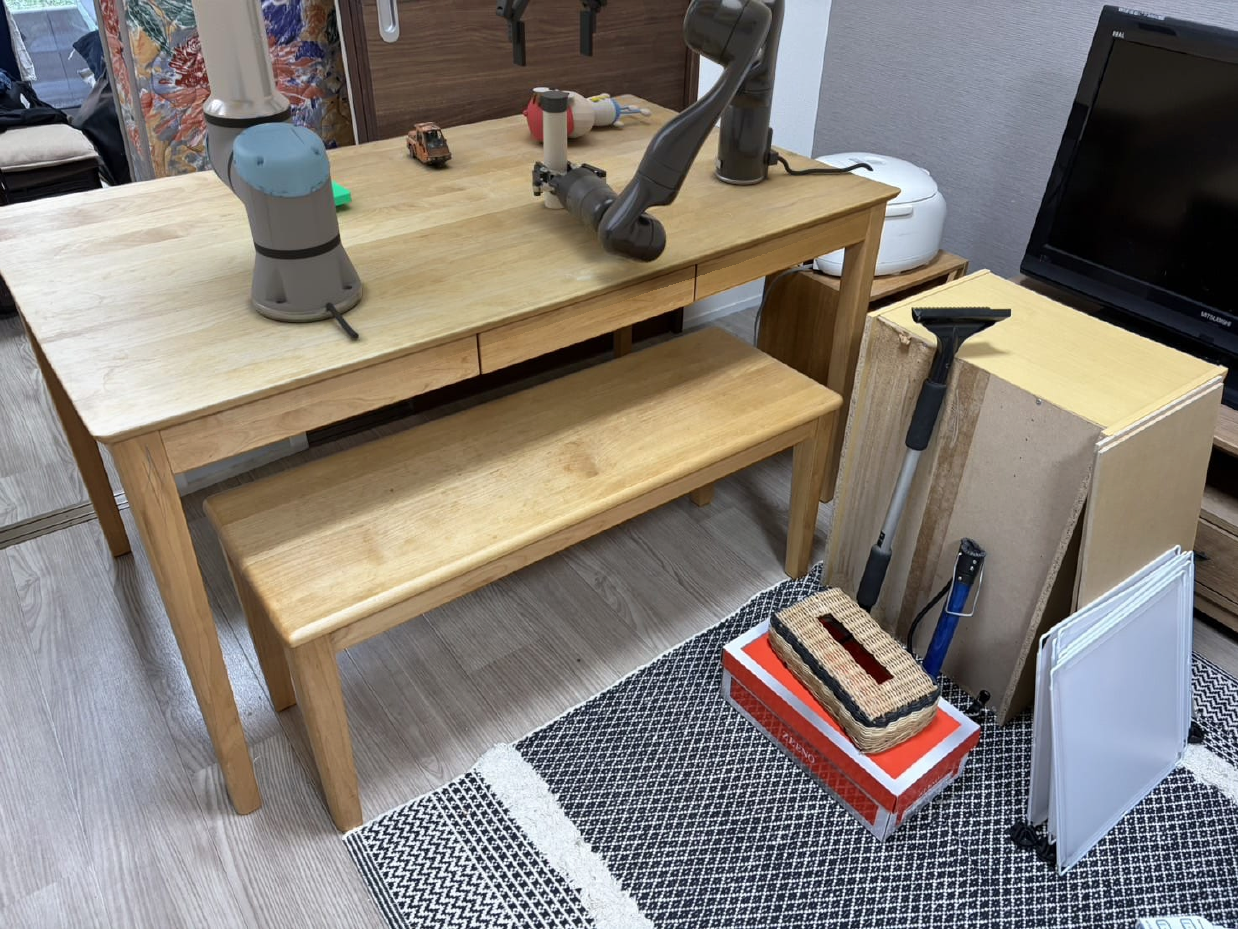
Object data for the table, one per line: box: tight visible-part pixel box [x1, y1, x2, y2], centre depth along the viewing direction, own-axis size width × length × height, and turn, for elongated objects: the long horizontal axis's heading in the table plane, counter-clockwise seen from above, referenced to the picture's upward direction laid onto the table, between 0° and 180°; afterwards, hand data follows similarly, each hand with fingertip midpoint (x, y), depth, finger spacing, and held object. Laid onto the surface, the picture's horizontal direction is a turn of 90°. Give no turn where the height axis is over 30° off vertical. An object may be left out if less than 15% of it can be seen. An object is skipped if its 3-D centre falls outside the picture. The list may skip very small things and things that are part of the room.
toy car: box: [405, 121, 453, 169], centre depth 181 cm, size 6×12×7 cm, turn 39°
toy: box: [522, 86, 652, 143], centre depth 198 cm, size 18×10×30 cm
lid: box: [541, 90, 568, 112], centre depth 156 cm, size 5×5×2 cm
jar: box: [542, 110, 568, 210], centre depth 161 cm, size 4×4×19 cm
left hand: (553, 59), depth 152 cm, fingers open, 12 cm apart
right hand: (549, 165), depth 165 cm, fingers closed on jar, 4 cm apart
